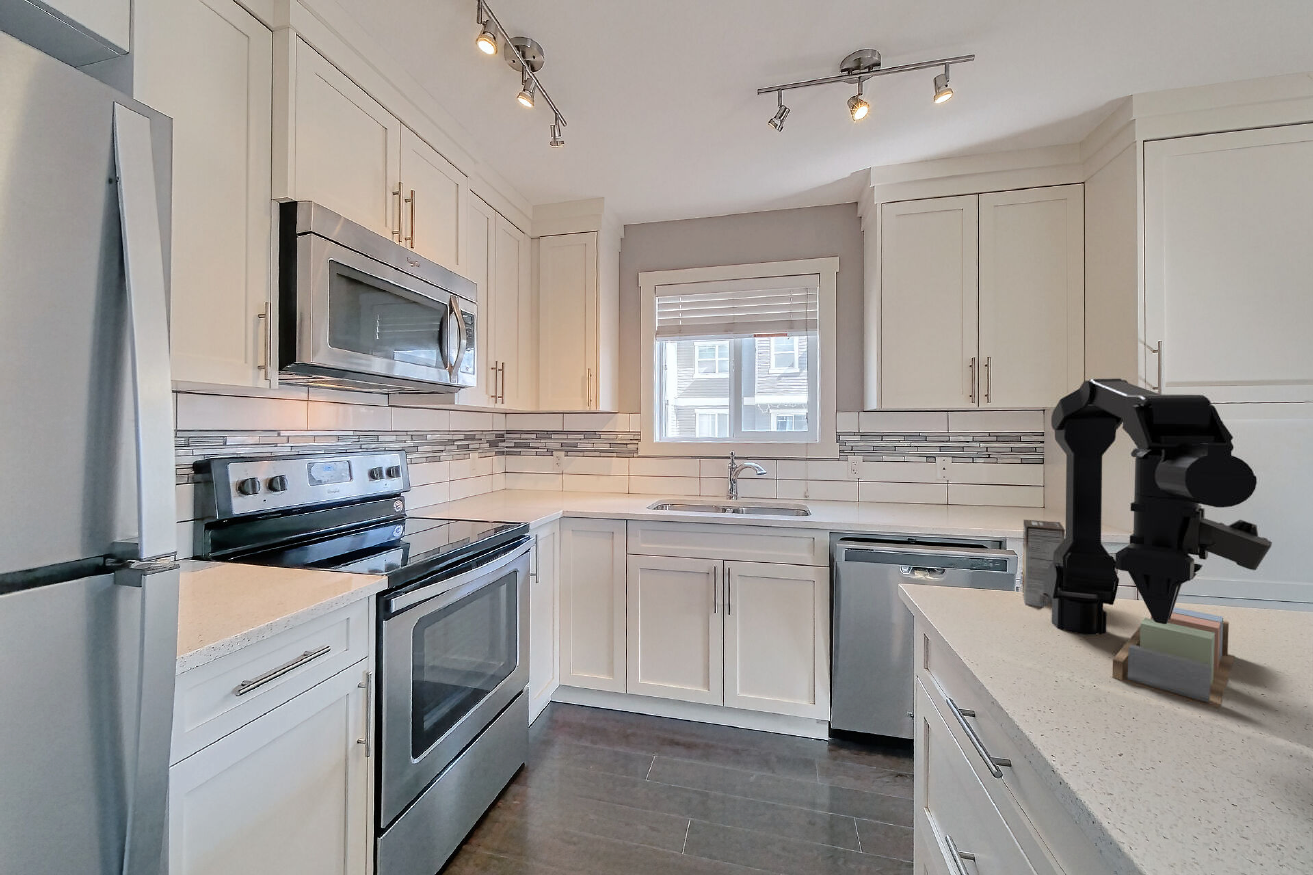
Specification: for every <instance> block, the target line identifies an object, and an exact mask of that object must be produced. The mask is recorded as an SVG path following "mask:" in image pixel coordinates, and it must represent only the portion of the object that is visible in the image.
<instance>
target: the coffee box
mask: <svg viewBox="0 0 1313 875" xmlns="http://www.w3.org/2000/svg"><path fill="white" fill-rule="evenodd" d="M1022 532H1023V534H1022V535H1023V536H1022V537H1023V538H1022V539H1023V540H1022V579H1021V580H1022V582H1021V583H1022V584H1021V585H1022V588H1021V590H1022V591H1021V592H1022V596H1023V601H1024V604H1025V605H1027V606H1034V607H1038V608H1039V607H1040V608H1045V607H1046V606H1047V605H1048V606H1049V604H1051V605H1052V598H1051V597H1050V596H1049V595H1048V594H1047V593H1045V592H1044V588H1043V578H1044V576H1045V574H1046V572H1047V570H1048V568H1049V566H1050V564H1051V563H1053V554H1054V551H1055V550H1056V549H1057V548H1058V546H1059V545H1060V544H1061V543H1062V542H1063V541H1064V539H1065V535H1066V528H1064V526H1063V524H1062V523H1061V522H1060V521H1046V520H1038V519H1037V520H1036V519H1035V520H1034V519H1033V520H1032V519H1023V531H1022ZM1058 589H1059V587H1058ZM1023 593H1024V594H1023Z"/></svg>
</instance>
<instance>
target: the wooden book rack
mask: <svg viewBox="0 0 1313 875" xmlns="http://www.w3.org/2000/svg"><path fill="white" fill-rule="evenodd" d="M1229 622H1230V621H1227V620H1223V640H1222V657H1221V660H1220V663H1219V666H1218V669H1217V670H1216V669H1214V674H1213V682H1212V685H1211V689H1210V701H1209V703H1206V702H1203V701H1199V700H1196V699H1193V698H1189V697H1186V696H1182V695H1179V694H1175V693H1172V692H1168V691H1165V690H1162V689H1158V688H1155V687H1151V686H1148V685H1144V684H1141V683H1137V682H1134V681H1131V680H1128V649H1129V646H1130V645H1131V644H1132V645H1136V646H1140V626H1139V627H1138V628H1137V629H1136V631H1135V632H1134V633H1133V634H1132V635H1131V637H1130V638H1129V639H1128V640H1127V642H1125V644H1124V645H1123V647H1121V649H1120V650H1119V651H1118V652H1117V654H1116V655H1115V656H1114V657H1113V658H1112V679H1115V680H1119V681H1123V682H1126V683H1129V684H1134V685H1136V686H1140V687H1143V688H1146V689H1150V690H1153V691H1158V692H1161V693H1163V694H1168V695H1171V696H1174V697H1177V698H1180V699H1183V700H1186V701H1187V700H1188V701H1191V702H1195V703H1198V704H1201V705H1204V706H1207V707H1212V708H1215V709H1220V707H1221V703H1222V701H1223V696H1224V694H1225V691H1226V687H1227V685H1228V684H1227V683H1228V680H1229V676H1230V673H1231V670H1232V666H1233V664H1234V663H1233V662H1234V659H1235V655H1233V654H1229V629H1230V628H1229V627H1230V626H1229V625H1230V624H1229Z"/></svg>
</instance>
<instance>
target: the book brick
mask: <svg viewBox="0 0 1313 875" xmlns="http://www.w3.org/2000/svg"><path fill="white" fill-rule="evenodd" d="M1150 619H1153V618H1152V616H1151V615H1150ZM1167 623H1171V624H1176V625H1181V626H1185V627H1190V628H1194V629H1199V630H1204V631H1208V632H1213V633H1215V642H1214V669H1216V670H1217V669H1218V666H1219V663H1220V631H1221V623H1220V622H1215V621H1210V620H1205V619H1200V618H1195V617H1190V616H1186V615H1181V614H1176V613H1172V615H1171V618H1170V619H1169V620H1168V622H1167Z"/></svg>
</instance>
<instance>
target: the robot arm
mask: <svg viewBox="0 0 1313 875" xmlns="http://www.w3.org/2000/svg"><path fill="white" fill-rule="evenodd" d="M1050 421H1051V428H1052V430H1054V440H1055V441H1056V442H1057V444H1058V445H1059V447H1060V448H1061V450H1062V451H1063V452H1064V454H1065V456H1066V468H1065V469H1066V472H1065V475H1066V476H1065V480H1066V481H1065V539H1064V541H1063V542H1062V543H1061V544H1060V545H1059V546H1058V548H1057V549H1056V550H1055V551H1054V554H1053V563H1051V564H1050V566H1049V568H1048V570H1047V572H1046V574H1045V576H1044V578H1043V588H1044V592H1045V593H1047V594H1048V595H1049V596H1050V597H1051V598H1052V604H1051V624H1053V626H1054V627H1055V628H1056V629H1058V630H1062V631H1065V632H1069V633H1074V634H1079V635H1089V636H1090V635H1091V636H1092V635H1093V636H1095V635H1107V626H1108V625H1107V624H1108V623H1107V621H1108V620H1107V619H1108V618H1107V617H1108V612H1107V611H1106V610H1104V604H1105V605H1110V606H1113V605H1114V603H1115V601H1116V597H1117V593H1118V589H1119V588H1118V586H1119V584H1120V577H1119V576H1118V573H1117V570H1118V571H1123V572H1127V573H1128V574H1129V576H1130V578H1131V580H1132V581H1133V583H1134V585H1135V587H1136V588H1137V590H1138V592H1139V594H1140V596H1141V598H1142V600H1143V602H1144V604H1145V606H1146V608H1147V610H1148V612H1149V613H1150V617H1151V616H1152V618H1153V620H1154V621H1155V622H1156V623H1161V624H1167V622H1168V620H1169V619H1170V618H1171V615H1172V612H1173V609H1174V607H1176V603H1177V601H1178V600H1177V599H1178V597H1179V594H1180V591H1181V588H1182V585H1183V584H1184V583H1188V582H1190V581H1191V580H1193V579H1195V577H1196V576H1197V572H1199V571H1201V569H1202V567H1204V566H1203V564H1200V563H1195V559H1194V557H1192V556H1191V555H1194V556H1198V558H1199V560H1207V559H1208V558H1209V553H1211V554H1213V555H1216V556H1219V557H1221V558H1224V559H1226V560H1229V561H1232V562H1234V563H1236V565H1238V566H1239V567H1242V568H1244V569H1248V570H1252V571H1257V569H1258V568H1259V566H1260V564H1261V563H1262V561H1263V560H1264V558H1265V556H1266V555H1267V553H1268V552H1269V550H1270V549H1271V547H1272V545H1273V542H1272V541H1271V540H1269V539H1268V538H1267V537H1262V536H1259V533H1258V526H1257V524H1255V523H1251V522H1250V521H1246V520H1243V519H1239V520H1237V521H1234V522H1233V523H1231V524H1228V525H1227V524H1225V523H1223V522H1216V521H1213V520H1211V519H1208V518H1206V517H1205V512H1206V511H1205V508H1204V507H1203V508H1202V505H1204V506H1209V507H1214V508H1229V507H1234V506H1238V505H1240V504H1241V503H1244V502H1246V501H1247V500H1248V499H1249V498H1251V496H1252V495H1253V494H1254V492H1255V491H1256V488H1257V484H1258V480H1257V476H1256V475H1255V474H1254V471H1253V469H1252V467H1250V465H1249V464H1248V463H1247V462H1246V461H1245V460H1243V459H1241V458H1239V457H1237V456H1234V455H1232V452H1233V450H1234V447H1235V446H1234V445H1233V442H1232V440H1233V439H1234V437H1233V435H1232V434H1231V432H1230V431H1229V429H1228V428H1227V425H1225V423H1224V421H1223V420H1222V419H1221V417H1220V415H1219V413H1218V410H1217V408H1216V407H1215V406H1214V405H1213V404H1212V401H1211V400H1210V399H1209V398H1208V397H1206V396H1205V395H1203V394H1161V393H1158V392H1155V391H1152V390H1149V389H1146V388H1143V387H1140V386H1139V385H1135V384H1132V383H1129V381H1127V380H1126V379H1121V378H1090V379H1088V380H1084V381H1083V382H1082V384H1080V387H1079V388H1078V389H1076V390H1074V391H1073V392H1071V393H1069V394H1067V395H1066V396H1064V397H1062V398H1060V399H1059V400H1058V403H1057V404H1056V405H1055V408H1054V409H1053V411H1052V414H1051V419H1050ZM1121 425H1122V430H1124V431H1125V433H1126V434H1128V436H1129V438H1131V440H1132V441H1133V443H1134V444H1135V446H1136V447H1135V448H1133V450H1132V451H1131V453H1130V456H1131V457H1132V458H1134V459H1135V460H1134V462H1135V464H1134V495H1133V496H1134V499H1133V501H1132V502H1130V512H1133V533H1131V534H1129V544H1128V545H1127V546H1125V547H1123V548H1121V549H1120V550H1118V551H1117V552H1115V558H1114V557H1113V556H1112V555H1110V554H1109V553H1108V552H1109V551H1107V549H1106V548H1105V547H1104V545H1103V544H1102V513H1103V512H1102V511H1103V510H1102V507H1103V506H1102V504H1103V502H1102V501H1103V500H1102V499H1103V491H1102V488H1103V456H1104V454H1105V453H1106V452H1107V451H1108V450H1109V448H1110V447H1111V445H1113V443H1115V441H1116V438H1117V431H1118V429H1119V428H1120V427H1121ZM1058 587H1059V589H1058Z"/></svg>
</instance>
